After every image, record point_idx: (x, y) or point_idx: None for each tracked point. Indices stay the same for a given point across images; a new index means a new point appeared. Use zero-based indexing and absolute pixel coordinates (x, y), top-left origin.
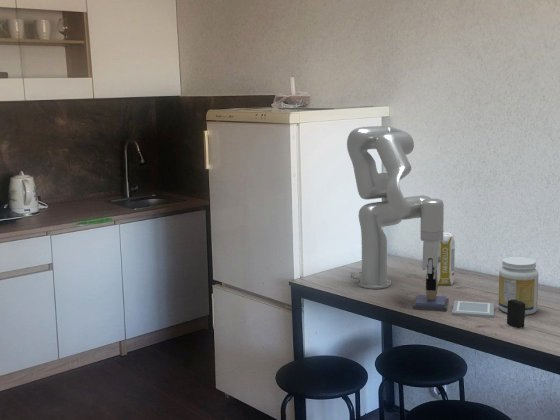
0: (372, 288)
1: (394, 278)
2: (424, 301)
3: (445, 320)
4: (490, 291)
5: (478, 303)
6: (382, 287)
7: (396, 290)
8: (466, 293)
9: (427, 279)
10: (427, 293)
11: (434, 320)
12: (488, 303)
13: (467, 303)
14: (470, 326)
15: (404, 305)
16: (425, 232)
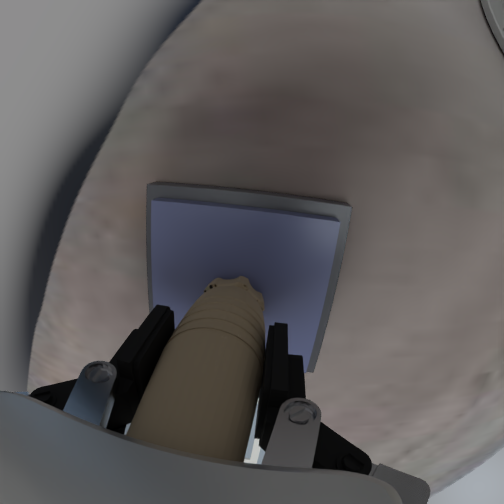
0: (481, 2)
1: None
2: (185, 256)
3: (64, 315)
4: (413, 453)
5: (253, 444)
6: (501, 46)
7: (492, 108)
8: (414, 410)
9: (122, 364)
10: (200, 296)
11: (50, 277)
12: (254, 461)
13: (253, 420)
14: (54, 370)
15: (218, 128)
16: None
